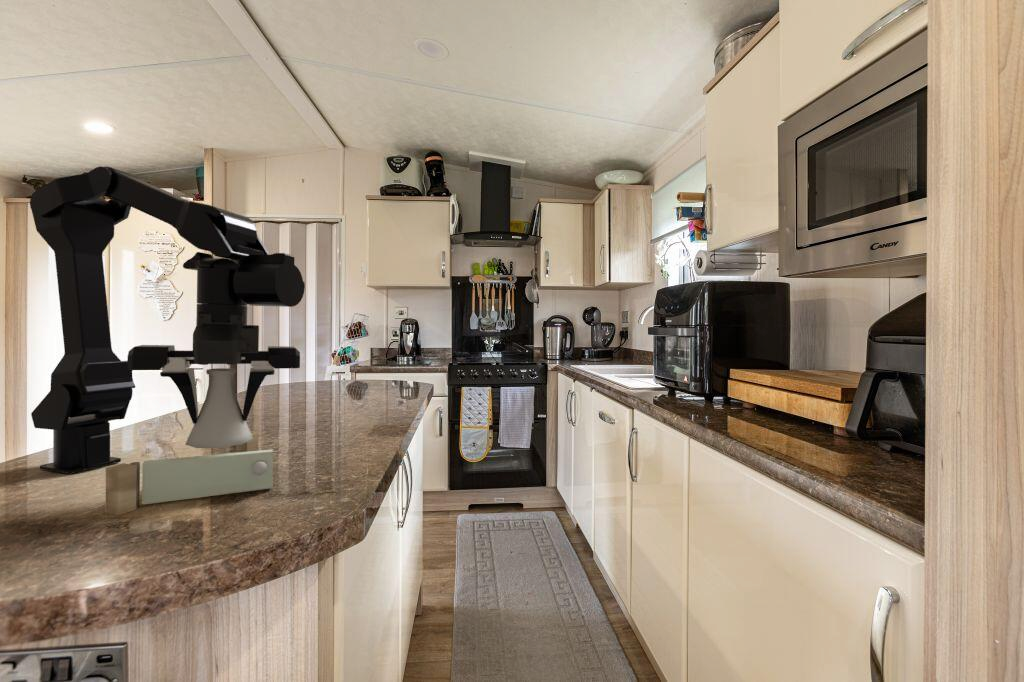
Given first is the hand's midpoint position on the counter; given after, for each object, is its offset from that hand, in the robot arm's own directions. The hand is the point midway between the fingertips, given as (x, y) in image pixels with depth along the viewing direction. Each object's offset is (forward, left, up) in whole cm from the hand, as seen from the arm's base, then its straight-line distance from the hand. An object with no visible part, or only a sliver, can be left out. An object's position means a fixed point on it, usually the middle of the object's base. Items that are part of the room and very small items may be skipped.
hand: (220, 421), depth 61 cm
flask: (0, 0, -3) cm, 3 cm away
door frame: (-1, -3, -8) cm, 9 cm away
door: (+4, -5, -8) cm, 10 cm away
